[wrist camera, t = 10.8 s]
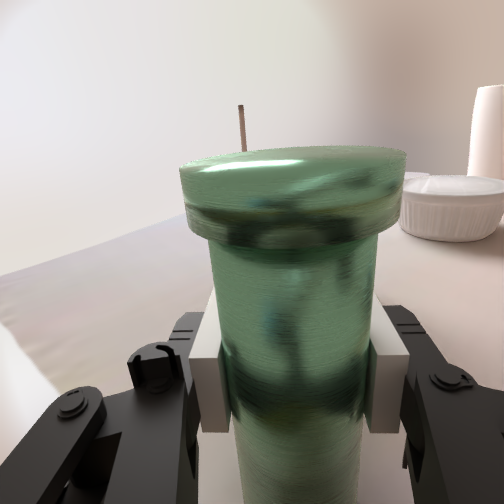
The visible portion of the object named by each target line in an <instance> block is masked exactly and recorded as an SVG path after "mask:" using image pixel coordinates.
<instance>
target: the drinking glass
mask: <svg viewBox="0 0 504 504" xmlns="http://www.w3.org/2000/svg"><path fill="white" fill-rule="evenodd" d="M467 176H478V177H487V178H493V179H499V180H504V85H495V86H486V87H479V88H478V90H477V94H476V99H475V103H474V109H473V116H472V126H471V138H470V150H469V161H468V172H467Z"/></svg>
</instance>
